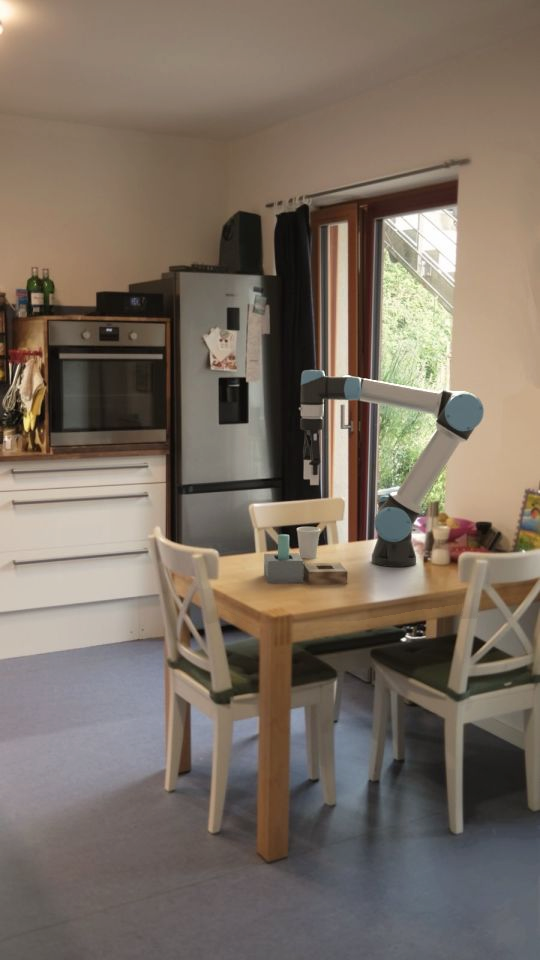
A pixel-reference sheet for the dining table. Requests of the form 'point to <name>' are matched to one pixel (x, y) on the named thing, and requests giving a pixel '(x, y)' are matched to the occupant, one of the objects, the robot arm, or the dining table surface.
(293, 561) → the socket
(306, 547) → the dixie cup
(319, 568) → the mount
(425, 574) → the dining table surface
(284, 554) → the pin
